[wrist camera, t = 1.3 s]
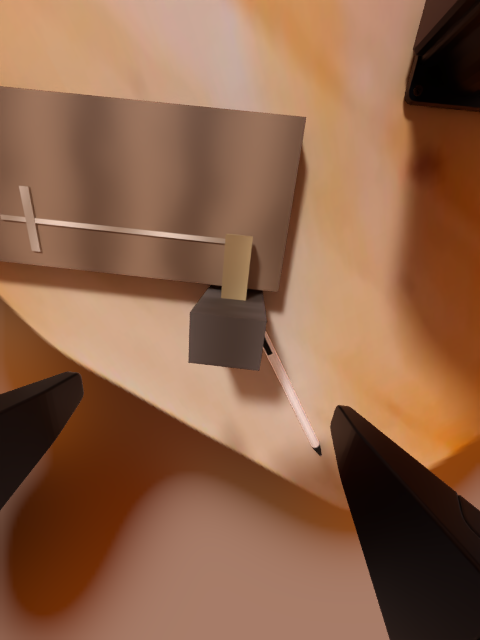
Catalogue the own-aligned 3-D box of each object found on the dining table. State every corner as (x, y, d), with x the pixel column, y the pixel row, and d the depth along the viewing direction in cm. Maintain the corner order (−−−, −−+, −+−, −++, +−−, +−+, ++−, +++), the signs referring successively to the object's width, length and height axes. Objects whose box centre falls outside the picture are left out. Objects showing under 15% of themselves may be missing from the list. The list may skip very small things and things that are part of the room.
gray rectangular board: (299, 130, 15) (306, 116, 13) (275, 285, 19) (278, 292, 17) (-71, 93, 16) (-118, 73, 14) (-26, 252, 19) (-58, 255, 17)
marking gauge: (269, 237, 17) (278, 242, 11) (257, 325, 20) (259, 370, 14) (214, 231, 17) (192, 232, 11) (209, 320, 20) (188, 362, 14)
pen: (245, 285, 19) (244, 289, 18) (324, 451, 25) (326, 460, 24) (235, 290, 20) (234, 294, 18) (315, 453, 25) (318, 463, 24)
